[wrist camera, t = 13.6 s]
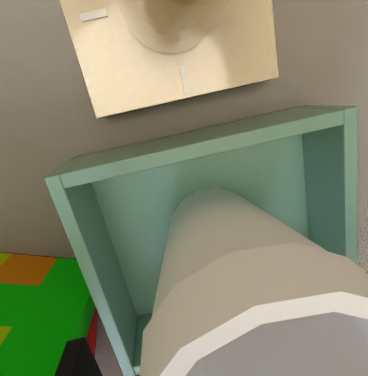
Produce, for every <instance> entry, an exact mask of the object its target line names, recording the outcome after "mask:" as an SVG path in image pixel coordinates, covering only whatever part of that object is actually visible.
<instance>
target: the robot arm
mask: <svg viewBox="0 0 368 376" xmlns="http://www.w3.org/2000/svg"><path fill="white" fill-rule="evenodd" d="M54 376H102V374H101V371H100V369H99V367H98V365H97V362H96V360H95V358H94V356H93V353H92V351H91V349H90V347H89V344H88V342H87V340H86V338H85V337H82V338H78V339H74V340H70V341H67V342H66V345H65V348H64V350H63V353H62V356H61V359H60V361H59V364H58V367H57V370H56V372H55V375H54Z"/></svg>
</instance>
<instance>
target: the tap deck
mask: <svg viewBox="0 0 368 376" xmlns="http://www.w3.org/2000/svg"><path fill="white" fill-rule="evenodd" d="M59 1H60V4H61V7H62V10H63V13H64V17H65V20H66V23H67V26H68V30H69V33H70V36H71V39H72V42H73V46H74V49H75V52H76V55H77V58H78V62H79V65H80V68H81V71H82V74H83V78H84V81H85V84H86V87H87V90H88V94H89V97H90V100H91V103H92V107H93V110H94V113H95V116H96V118H102V117H106V116H110V115H115V114H119V113H124V112H128V111H133V110H137V109H141V108H146V107H150V106H155V105H159V104H164V103H168V102H173V101H177V100H181V99H186V98H190V97H195V96H199V95H204V94H208V93H213V92H217V91H221V90H226V89H230V88H235V87H239V86H244V85H248V84H253V83H257V82H261V81H266V80H270V79H275V78H278V77H279V74H278V63H277V51H276V40H275V28H274V17H273V6H272V0H231V1H230V2H229V3H228V5H227V6H226V8H225V9H224V11H223V12H222V13H221V15H220V16H219V18H218V19H217V21H216V22H215V23H214V25H213V26H212V28H211V29H210V31H209V32H208V34H207V35H206V36H205V37H204V39H203V40H202V41H201V42H200V43H198V44H197V45H196V46H194V47H193V48H191V49H189V50H187V51H185V52H181V53H176V54H165V53H160V52H156V51H154V50H151V49H149V48H148V47H146V46H144V45H143V44H142V43H140V42H139V41H138V40H137V39H136V38H135V37H134V36H133V34H132V33H131V32H130V30H129V29H128V27H127V25H126V24H125V22H124V19H123V17H122V15H121V12H120V10H119V8H118V5H117V3H116V1H115V0H59Z"/></svg>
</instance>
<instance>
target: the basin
mask: <svg viewBox="0 0 368 376" xmlns="http://www.w3.org/2000/svg"><path fill="white" fill-rule="evenodd" d="M44 180H45V183H46V185H47V188H48V190H49V193H50V195H51V198H52V200H53V203H54V205H55V207H56V210H57V212H58V215H59V217H60V220H61V222H62V225H63V227H64V230H65V232H66V235H67V237H68V240H69V242H70V245H71V247H72V250H73V252H74V254H75V257H76V259H77V262H78V264H79V267H80V269H81V272H82V274H83V277H84V279H85V282H86V284H87V287H88V289H89V292H90V294H91V297H92V299H93V302H94V304H95V306H96V309H97V311H98V314H99V316H100V319H101V321H102V324H103V326H104V329H105V331H106V334H107V336H108V339H109V341H110V344H111V346H112V349H113V351H114V353H115V356H116V358H117V361H118V363H119V366H120V368H121V371H122V373H123V376H134V375H135V374H136V375H137V374H140V366H141V352H142V338H143V330H144V329H145V327H146V326H147V324H148V323H149V322H150V320H151V317H152V312H153V307H154V302H155V297H156V292H157V287H158V282H159V277H160V272H161V267H162V262H163V257H164V252H165V247H166V242H167V237H168V232H169V227H170V222H171V219H172V216H173V214H174V212H175V211H176V209H177V208H178V206H179V205H180V203H181V201H182V200H184V199H186V198H187V197H189V196H190V195H192V194H193V193H195V192H197V191H198V190H205V189H211V188H220V189H224V190H227V191H230V192H234V193H236V194H237V195H240V196H241V197H243V198H244V199H246V200H247V201H249V202H251V203H252V204H254V205H255V206H257V207H258V208H260V209H262V210H263V211H265V212H266V213H268V214H270V215H271V216H273V217H274V218H276V219H277V220H279V221H281V222H282V223H284V224H285V225H287V226H289V227H290V228H292V229H293V230H295V231H296V232H298V233H300V234H301V235H303V236H304V237H306V238H307V239H309V240H311V241H312V242H314V243H315V244H317V245H319V246H320V247H322V248H323V249H325V250H326V251H328V252H331V253H335V254H338V255H342V256H345V257H348V258H350V259H351V260H352V261H353V262H354V263H356V264H357V265H358V107H357V106H316V105H303V106H299V107H295V108H290V109H286V110H281V111H277V112H273V113H268V114H264V115H260V116H255V117H251V118H246V119H242V120H238V121H233V122H229V123H224V124H220V125H216V126H211V127H207V128H202V129H198V130H194V131H189V132H185V133H180V134H176V135H172V136H167V137H163V138H158V139H154V140H150V141H145V142H141V143H136V144H132V145H128V146H123V147H119V148H114V149H110V150H106V151H101V152H97V153H92V154H88V155H84V156H79V157H75V158H74V159H72V160H71V161H69V162H68V163H66V164H65V165H63V166H62V167H60V168H59V169H57V170H56V171H54V172H52V173H51V174H49V175H48V176H46V177H45V178H44Z"/></svg>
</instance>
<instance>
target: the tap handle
mask: <svg viewBox="0 0 368 376" xmlns="http://www.w3.org/2000/svg"><path fill="white" fill-rule="evenodd" d="M115 1H116V3H117V5H118V8H119V10H120V12H121V15H122V17H123V19H124V22H125V24H126V25H127V27H128V29H129V30H130V32H131V33H132V34H133V36H134V37H135V38H136V39H137V40H138V41H139V42H140V43H142V44H143V45H144V46H146V47H148V48H149V49H151V50H154V51H156V52H160V53H165V54H176V53H181V52H185V51H187V50H189V49H191V48H193V47H194V46H196V45H197V44H198V43H200V42H201V41H202V40H203V39H204V37H205V36H206V35H207V34H208V32H209V31H210V29H211V28H212V26H213V25H214V23H215V22H216V21H217V19H218V18H219V16H220V15H221V13H222V12H223V11H224V9H225V8H226V6H227V5H228V3H229V2H230V1H231V0H115Z"/></svg>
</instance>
